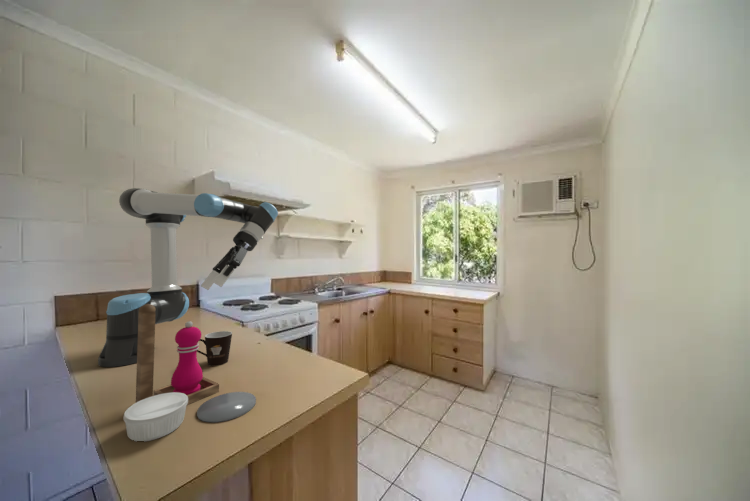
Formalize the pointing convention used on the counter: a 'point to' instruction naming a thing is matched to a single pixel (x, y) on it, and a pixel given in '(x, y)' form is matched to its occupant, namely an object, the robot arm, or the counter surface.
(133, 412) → the ramekin
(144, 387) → the wooden stand
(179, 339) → the pepper mill
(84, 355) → the counter surface
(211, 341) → the coffee mug
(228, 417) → the slate coaster
